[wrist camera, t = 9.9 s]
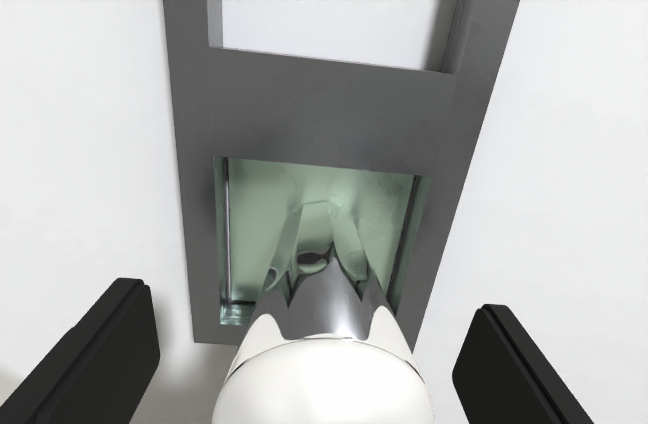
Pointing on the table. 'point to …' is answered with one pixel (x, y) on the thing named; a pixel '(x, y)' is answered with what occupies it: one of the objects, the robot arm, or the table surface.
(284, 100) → the two-slot gray tray
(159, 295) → the table surface
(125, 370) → the robot arm
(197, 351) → the table surface
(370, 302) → the milkshake
